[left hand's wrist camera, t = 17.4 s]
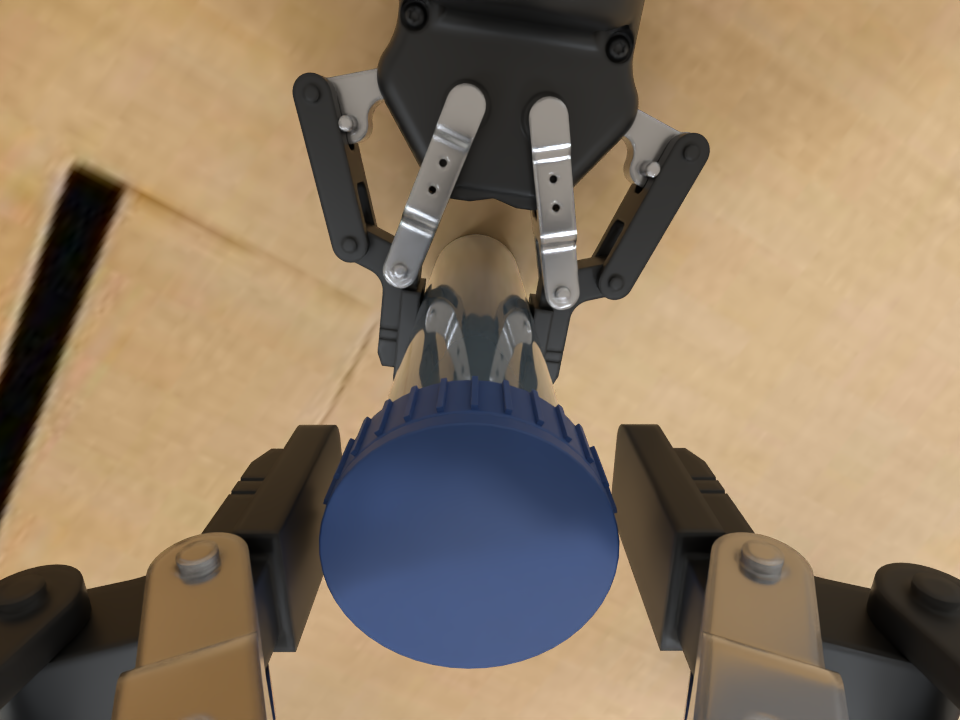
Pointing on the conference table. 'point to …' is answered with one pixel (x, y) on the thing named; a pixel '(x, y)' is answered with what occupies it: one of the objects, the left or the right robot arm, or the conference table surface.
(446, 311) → the grey cylinder
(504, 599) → the lid
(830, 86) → the conference table surface
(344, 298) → the conference table surface
